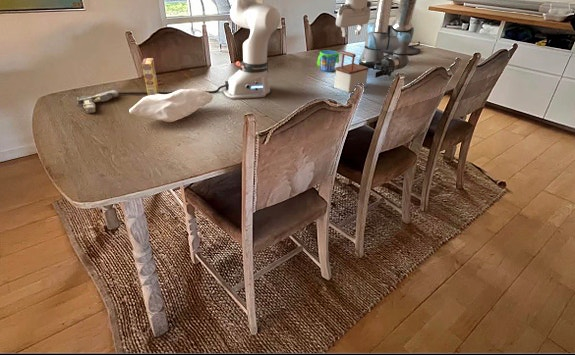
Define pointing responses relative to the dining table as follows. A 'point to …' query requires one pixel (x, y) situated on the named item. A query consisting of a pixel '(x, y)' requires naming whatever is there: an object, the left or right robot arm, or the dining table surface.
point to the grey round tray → (410, 51)
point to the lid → (350, 65)
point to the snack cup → (328, 60)
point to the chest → (349, 80)
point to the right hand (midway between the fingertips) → (365, 71)
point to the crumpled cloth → (171, 104)
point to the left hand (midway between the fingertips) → (350, 35)
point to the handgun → (95, 100)
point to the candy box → (150, 76)
